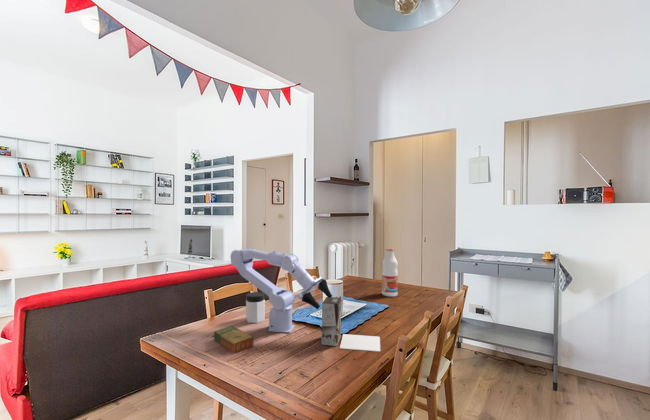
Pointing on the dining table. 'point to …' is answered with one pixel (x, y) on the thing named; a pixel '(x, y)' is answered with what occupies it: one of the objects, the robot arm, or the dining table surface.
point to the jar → (255, 307)
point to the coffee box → (331, 321)
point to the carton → (233, 339)
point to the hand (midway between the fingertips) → (325, 302)
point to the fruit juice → (390, 274)
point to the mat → (360, 342)
